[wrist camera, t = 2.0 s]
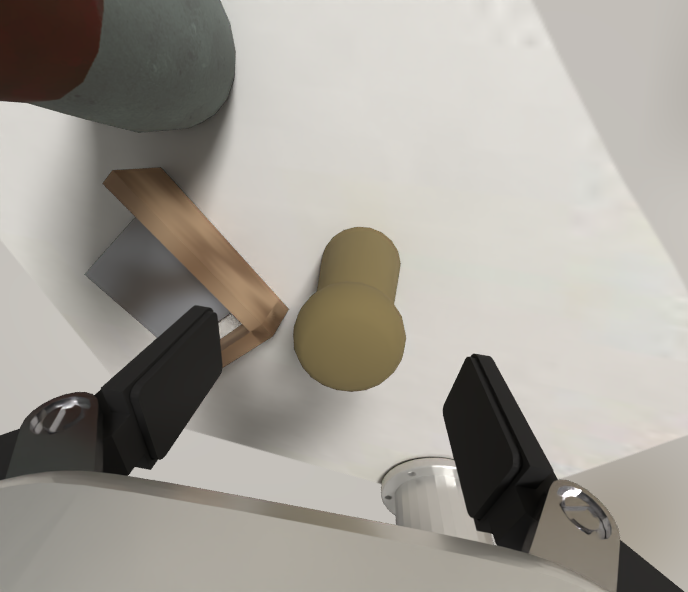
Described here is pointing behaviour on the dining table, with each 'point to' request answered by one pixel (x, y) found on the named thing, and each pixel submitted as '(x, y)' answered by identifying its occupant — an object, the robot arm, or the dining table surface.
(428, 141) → the dining table surface
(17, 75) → the bottle
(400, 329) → the cork
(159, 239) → the corner arena
